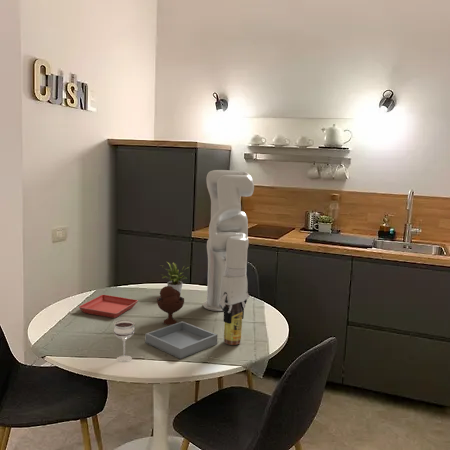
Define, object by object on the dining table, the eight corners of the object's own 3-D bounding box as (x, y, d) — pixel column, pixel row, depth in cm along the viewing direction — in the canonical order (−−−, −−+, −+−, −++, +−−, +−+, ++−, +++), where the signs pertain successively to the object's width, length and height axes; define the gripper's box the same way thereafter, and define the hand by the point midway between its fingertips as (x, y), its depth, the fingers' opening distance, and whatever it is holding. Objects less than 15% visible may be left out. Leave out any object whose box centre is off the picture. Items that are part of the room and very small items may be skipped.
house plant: (150, 294, 227) (151, 260, 225) (174, 289, 236) (175, 256, 234) (169, 302, 217) (169, 266, 214) (193, 296, 226) (194, 262, 224)
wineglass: (138, 360, 158) (138, 325, 156) (118, 364, 154) (118, 329, 152) (129, 352, 164) (129, 318, 162) (110, 356, 160) (110, 322, 158)
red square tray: (116, 321, 193) (116, 313, 192) (77, 314, 198) (77, 306, 198) (138, 307, 210) (138, 300, 209) (102, 301, 215) (102, 294, 215)
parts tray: (182, 329, 185) (182, 321, 185) (217, 343, 174) (217, 334, 173) (145, 343, 172) (145, 333, 171) (180, 359, 160) (180, 349, 160)
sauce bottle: (235, 347, 171) (237, 293, 168) (220, 343, 174) (222, 290, 171) (244, 341, 177) (246, 289, 173) (229, 337, 180) (231, 285, 176)
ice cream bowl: (179, 328, 186) (180, 291, 184) (152, 325, 189) (152, 288, 186) (187, 319, 197) (188, 283, 194) (161, 316, 199) (161, 280, 196)
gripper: (242, 265, 180) (240, 312, 183) (211, 273, 167) (209, 323, 170) (259, 269, 175) (256, 317, 178) (227, 278, 162) (225, 329, 165)
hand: (233, 319), depth 174 cm, fingers closed on sauce bottle, 6 cm apart
